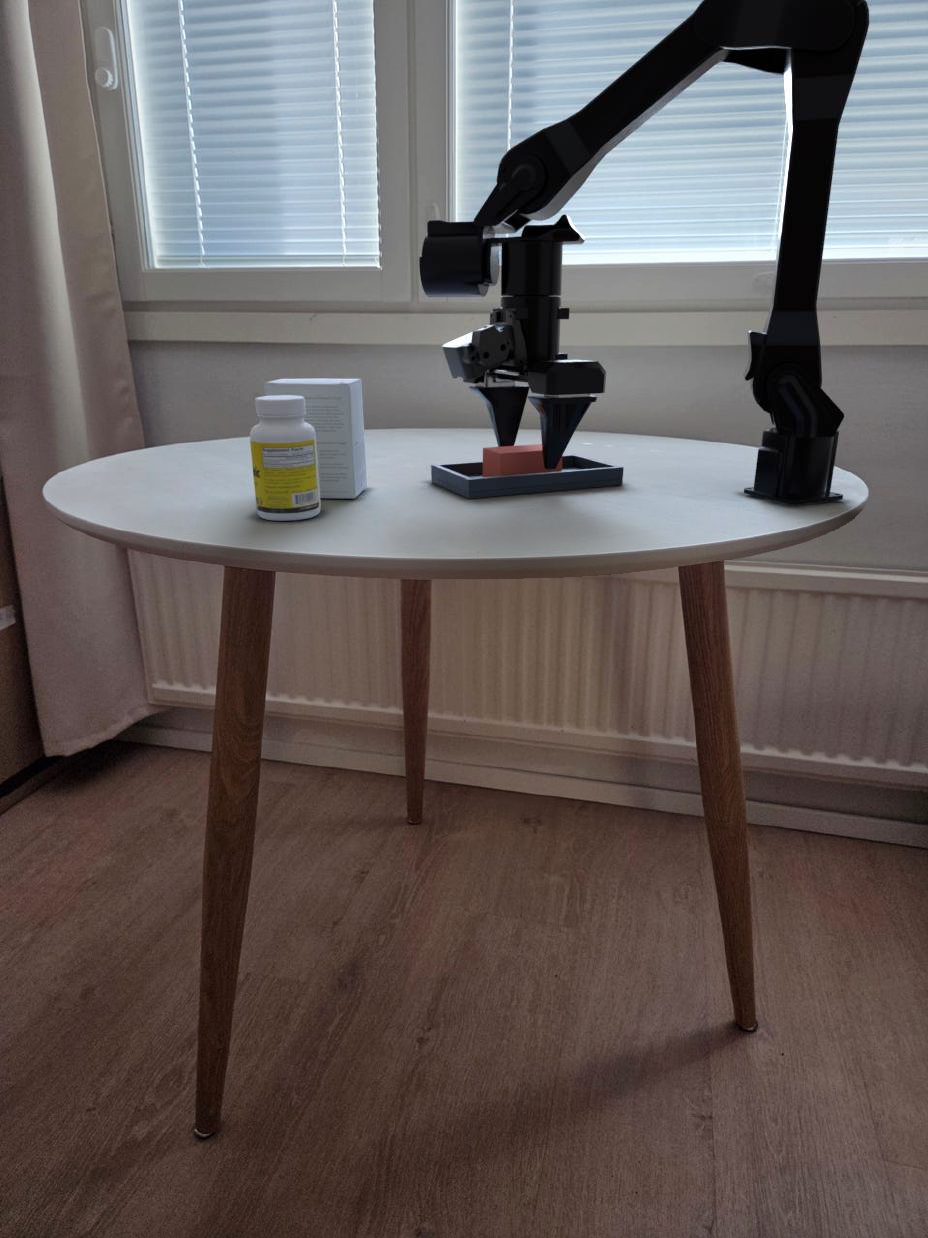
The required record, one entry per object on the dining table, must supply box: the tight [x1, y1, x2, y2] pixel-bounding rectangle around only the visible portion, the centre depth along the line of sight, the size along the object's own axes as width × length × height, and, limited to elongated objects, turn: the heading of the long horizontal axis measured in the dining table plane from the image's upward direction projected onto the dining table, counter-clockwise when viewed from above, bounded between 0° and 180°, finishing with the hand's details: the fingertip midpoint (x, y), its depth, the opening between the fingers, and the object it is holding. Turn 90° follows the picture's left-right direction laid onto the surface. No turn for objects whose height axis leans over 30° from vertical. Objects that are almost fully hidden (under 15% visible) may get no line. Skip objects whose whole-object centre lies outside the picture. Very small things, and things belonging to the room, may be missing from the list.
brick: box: [482, 443, 562, 477], centre depth 85 cm, size 7×4×3 cm, turn 115°
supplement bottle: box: [249, 395, 322, 522], centre depth 70 cm, size 5×5×10 cm
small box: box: [263, 377, 368, 500], centre depth 79 cm, size 8×6×10 cm
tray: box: [430, 453, 624, 500], centre depth 86 cm, size 17×9×2 cm, turn 114°
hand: (526, 461), depth 85 cm, fingers open, 9 cm apart
